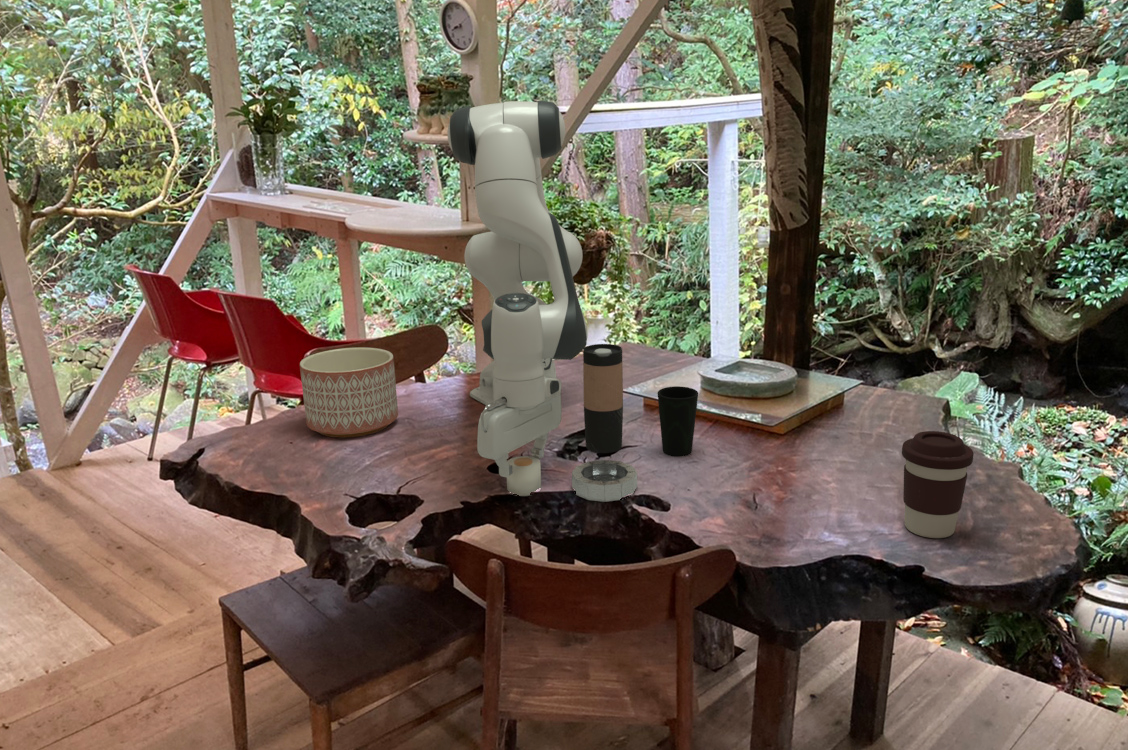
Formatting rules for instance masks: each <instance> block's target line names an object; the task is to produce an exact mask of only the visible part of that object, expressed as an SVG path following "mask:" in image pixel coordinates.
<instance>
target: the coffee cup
mask: <svg viewBox="0 0 1128 750" xmlns="http://www.w3.org/2000/svg"><path fill="white" fill-rule="evenodd" d="M901 447H902V448H901V455H902V457H903V458H904V459H905V463H904V466H903V503H904V526H905V528H906V529H907V530H908V531H909V532H911V533H913V534H915V535H917V536H920V537H923V538H929V539H943V538H945V539H946V538H948V537H950V536H952V535H953V534H954V533H955V531H956V527H957V521H958V516H959V512H960V510H961V508H962V504H963V499H964V494H965V489H966V485H967V479H968V472H967V470H968V467H970V466H971V465H972V464H973V461H974V453H975V452H974V450H973V449H972V448H971V447H970V446H969V445H967V444H965V443H964V441H963V439H962V438H961V437H960V436H959V435H955V434H954V433H953V434H952V433H950V432H945V431H939V430H927V431H920V432H918V433H916V434H915V435H914V436H913V437H912V438H909V439H906V440H905V441H903V443H902V445H901Z"/></svg>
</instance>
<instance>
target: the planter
mask: <svg viewBox="0 0 1128 750" xmlns="http://www.w3.org/2000/svg"><path fill="white" fill-rule="evenodd" d="M395 370H396V369H395V359H394V355H393V353H392V352H391V351H389V350H385V349H382V348H376V347H364V346H363V347H345V348H344V347H343V348H337V349H329V350H325V351H320V352H317V353H314V354H310V355H309V356H306V357H304V358H303V359H301V361H300V362H299V371H300V377H301V379H300V380H301V388H302V396H303V404H304V412H305V422H306V425H307V427H308V428H309V429H310V430H311V431H313V432H317V433H319V434H320V435H322V436H325V437H330V438H331V437H332V438H340V439H341V438H357V437H363V436H368V435H371V434H375V433H379V431H380V432H381V431H382V430H384V429H386V428H387V427H388V426H389V425H390V424H392V423H394V422H395V421H396V420H397V418H398V417H399V407H398V395H397V394H398V393H397V384H396V383H397V382H396V373H395Z"/></svg>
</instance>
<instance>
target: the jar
mask: <svg viewBox="0 0 1128 750" xmlns="http://www.w3.org/2000/svg"><path fill="white" fill-rule="evenodd" d="M507 462H508V464H509V465H512V471H513V473H512V475H510V476H508V477H506V491H507V490H508V491H509V492H511V493H514V494H517V495H519V496H520V497H528V496H531V495H530V493H531V492H534V491H536V490H537V489H539V488H541V489H542V469H541V467H542V466H541V460H540V459H537V458H535V457H531V455H530V456H529V455H522V456H521V455H520V456H515V457H512V458H510V459H509V458H508V460H507ZM508 491H507V492H508ZM509 492H508V493H509ZM517 495H516V496H517Z"/></svg>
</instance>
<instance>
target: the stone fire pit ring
mask: <svg viewBox="0 0 1128 750" xmlns="http://www.w3.org/2000/svg"><path fill="white" fill-rule="evenodd" d="M572 487H573V488H574V489H575V491H576V494H575V495H576V496H578V497H579V498H582V499H585V500H587V501H595V502H602V503H605V502H606V503H607V502H613V501H621V500H620V499H621V498H622V497H624V496H626V495H628V494H631V493H634V491H635V489H636V487H637V488H638V471H637V470H636V468H635V467H634V466H633V465H632V464H629V463H626V462H623V461H620V460H613V459H599V460H589V461H585V462H584V463H582V464H578V465H576V466H575V468H574V469H573V470H572V472H571V488H572ZM636 490H637V489H636ZM635 492H636V491H635ZM634 494H635V493H634Z"/></svg>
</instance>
